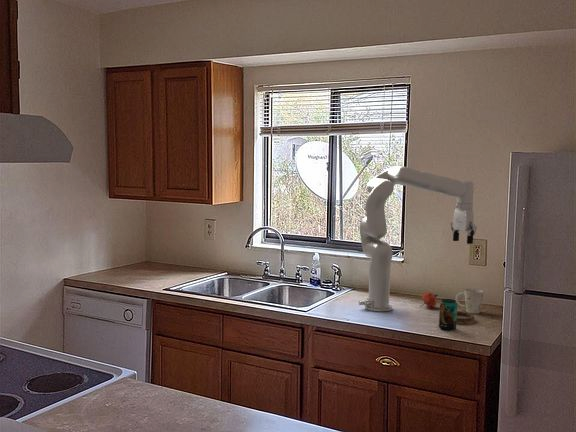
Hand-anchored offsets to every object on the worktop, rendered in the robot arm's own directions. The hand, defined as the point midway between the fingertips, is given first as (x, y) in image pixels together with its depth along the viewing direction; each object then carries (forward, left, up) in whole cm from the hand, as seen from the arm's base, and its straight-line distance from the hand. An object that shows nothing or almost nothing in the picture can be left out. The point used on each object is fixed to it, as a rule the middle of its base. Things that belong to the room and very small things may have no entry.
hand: (462, 242), depth 304 cm
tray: (-19, -25, -30) cm, 44 cm away
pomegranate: (-19, -2, -30) cm, 36 cm away
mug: (-5, -13, -30) cm, 33 cm away
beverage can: (-31, -36, -30) cm, 56 cm away
